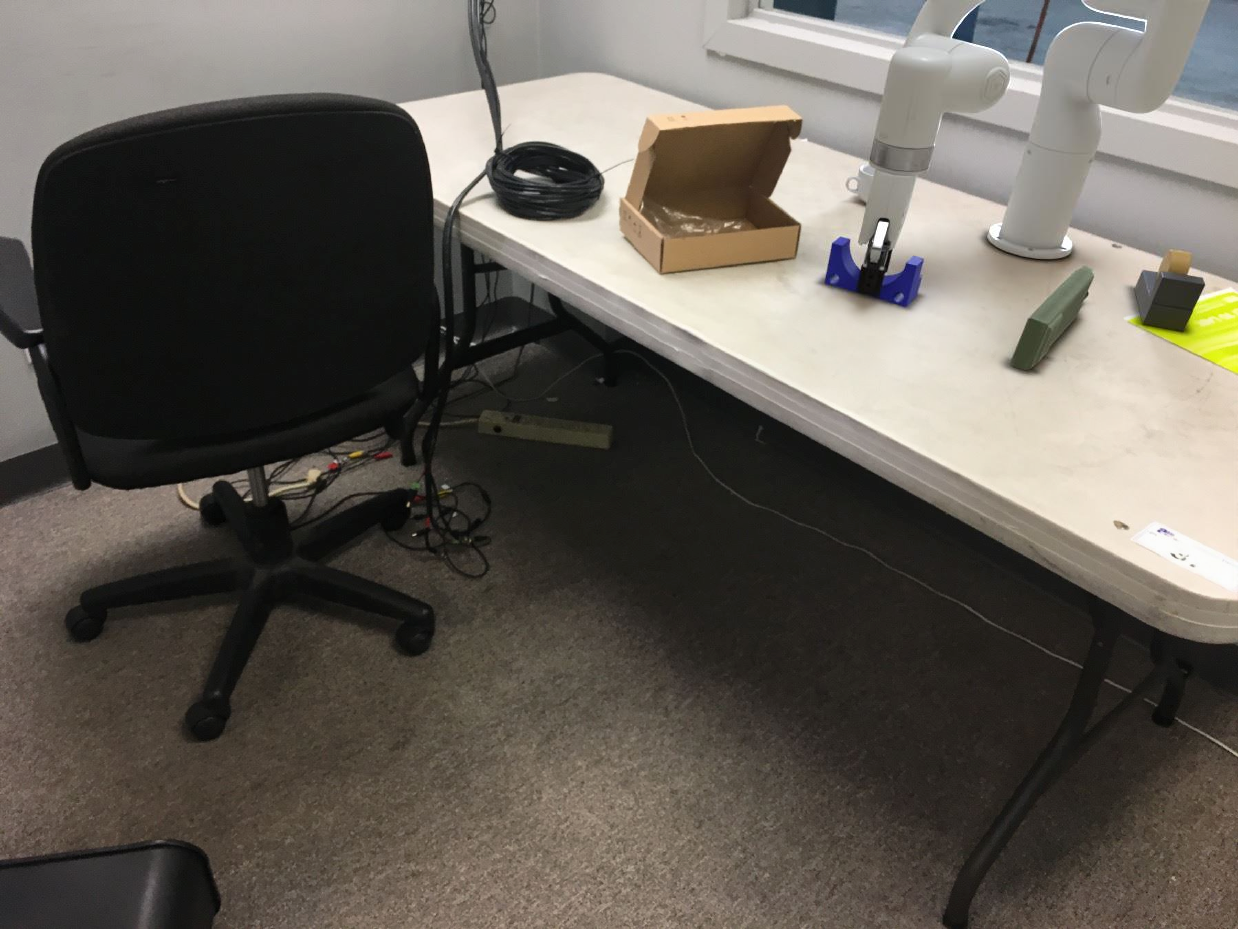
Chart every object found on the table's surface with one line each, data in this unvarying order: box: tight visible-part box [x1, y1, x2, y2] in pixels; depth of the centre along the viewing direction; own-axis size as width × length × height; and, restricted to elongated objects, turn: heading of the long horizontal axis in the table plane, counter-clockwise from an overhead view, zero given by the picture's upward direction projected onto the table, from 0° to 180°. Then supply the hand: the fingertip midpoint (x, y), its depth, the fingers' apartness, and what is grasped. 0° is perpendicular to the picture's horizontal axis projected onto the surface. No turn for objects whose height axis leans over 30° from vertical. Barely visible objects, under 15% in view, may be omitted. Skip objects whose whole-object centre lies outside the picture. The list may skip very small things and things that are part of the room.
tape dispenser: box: [1134, 249, 1206, 332], centre depth 118 cm, size 12×5×8 cm, turn 159°
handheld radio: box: [1010, 266, 1095, 371], centre depth 111 cm, size 7×3×25 cm
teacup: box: [845, 163, 876, 204], centre depth 149 cm, size 10×8×5 cm
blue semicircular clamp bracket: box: [824, 235, 925, 308], centre depth 120 cm, size 12×4×6 cm, turn 56°
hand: (871, 281), depth 121 cm, fingers open, 7 cm apart
